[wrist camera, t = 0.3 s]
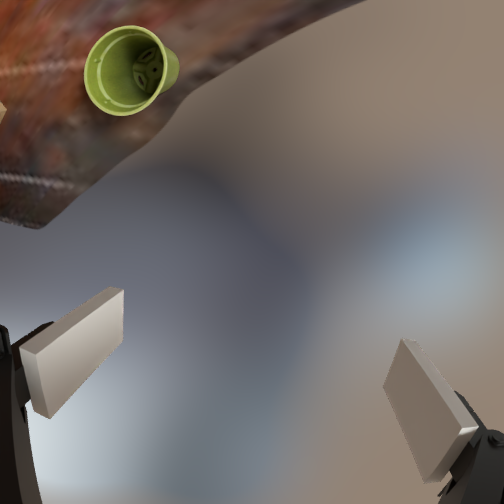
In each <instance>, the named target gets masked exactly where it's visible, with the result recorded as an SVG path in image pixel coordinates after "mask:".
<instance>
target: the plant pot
mask: <svg viewBox="0 0 504 504" xmlns="http://www.w3.org/2000/svg"><path fill="white" fill-rule="evenodd" d="M149 52H151V53H152V54H151V55H149V56H147V57H146V58H145V59H143V57H144V56H145V55H146V54H147V53H149ZM154 68H157V71H156V72H154V71H153V69H154ZM178 73H179V61H178V58H177V56H176V55H175V54H174V53H173V52H172V51H171V50H170V49H168V48H166V47H165V46H163V44H162V42H161V41H160V40H159V38H158V37H157V36H156V35H155V34H153V33H152V32H151V31H149V30H147V29H145V28H142V27H138V26H123V27H119V28H116V29H114V30H111V31H110V32H108V33H106V34H105V35H104V36H103V37H101V38H100V39H99V40H98V41H97V42H96V44H95V45H94V46H93V48H92V49H91V51H90V53H89V55H88V58H87V61H86V64H85V69H84V82H85V87H86V90H87V93H88V95H89V97H90V99H91V100H92V101H93V103H94V104H95V105H96V106H97V107H98V108H100V109H101V110H103V111H104V112H106V113H109V114H112V115H116V116H127V115H131V114H134V113H137V112H139V111H141V110H143V109H145V108H146V107H147V106H148V105H150V104H151V103H152V102H153V101H154V100H155V98H156V97H157V96H158V95H159V94H161V93H163V92H165V91H166V90H168V89H169V88H170V87H171V86H172V85H173V84H174V83H175V82H176V80H177V77H178ZM138 76H140V77H141V79H142V81H143V82H144V85H142V84H141V83H140V81H139V79H138Z"/></svg>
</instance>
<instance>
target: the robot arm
mask: <svg viewBox="0 0 504 504" xmlns="http://www.w3.org/2000/svg"><path fill="white" fill-rule="evenodd" d="M123 293H124V291H123V289H119V288H114V287H108V288H106V289H105V290H103V291H102V292H100V293H98V294H97V295H95V296H94V297H92V298H91V299H89V300H88V301H86V302H85V303H83V304H82V305H80V306H79V307H77V308H76V309H74V310H73V311H71V312H70V313H68V314H67V315H65V316H64V317H62V318H61V319H59V320H58V321H56V322H53V321H52V322H49V323H46V324H42V325H41V326H39V327H38V328H36V329H35V330H34V331H32V332H31V333H29V334H28V335H26V336H24V337H23V338H21V339H20V340H18V341H17V342H15V343H14V344H12V345H11V344H10V339H9V333H8V329H7V328H6V327H5V326H2V325H0V504H42V500H41V496H40V492H39V488H38V484H37V478H36V473H35V468H34V463H33V457H32V451H31V444H30V437H29V428H28V419H27V411H26V407H25V404H26V403H27V402H28V401H29V400H30V399H31V402H32V406H33V410H34V411H35V412H36V413H39V414H40V415H42V416H44V417H46V418H48V419H51V418H52V416H53V415H54V414H55V413H56V412H57V411H58V410H59V409H60V408H61V407H62V406H63V404H64V403H65V402H66V401H67V400H68V399H69V398H70V397H71V396H72V395H73V394H74V392H75V391H76V390H77V389H78V388H79V387H80V386H81V385H82V384H83V383H84V382H85V380H87V378H88V377H89V376H90V375H91V374H92V373H93V372H94V371H95V370H96V369H97V368H98V367H99V365H101V363H102V362H103V361H104V360H105V359H106V358H107V357H108V356H109V355H110V354H111V353H112V352H113V351H114V350H115V349H116V348H117V347H118V345H119V344H120V343H121V342H122V341H123ZM383 388H384V390H385V392H386V395H387V397H388V399H389V401H390V403H391V405H392V408H393V410H394V412H395V414H396V417H397V419H398V421H399V424H400V426H401V428H402V431H403V433H404V435H405V438H406V440H407V442H408V445H409V447H410V450H411V452H412V454H413V457H414V459H415V462H416V464H417V467H418V469H419V472H420V474H421V476H422V479H423V481H424V483H432V482H439V481H441V480H442V479H443V478H444V476H445V475H446V474H447V473H448V471H450V473H451V474H452V478H451V480H450V481H449V482H448V483H447V485H446V486H445V487H444V488H443V490H442V491H441V492H440V493H439V494H438V496H439V497H440V496H441V495H442V497H441V499H440V501H439V503H438V504H504V434H503V433H501V432H500V431H497V430H487V429H486V427H485V426H484V424H483V423H482V421H481V420H480V419H479V418H478V416H477V414H476V413H475V412H473V411H474V410H473V409H472V408H471V407H470V406H469V404H468V402H467V401H466V400H465V398H464V397H463V396H462V395H460V394H459V393H458V392H456V391H453V389H452V388H451V387H450V385H449V384H448V383H447V381H446V380H445V379H444V377H443V376H442V375H441V373H440V372H439V371H438V369H437V368H436V367H435V366H434V364H433V363H432V362H431V360H430V359H429V358H428V356H427V355H426V354H425V353H424V351H423V350H422V349H421V347H420V346H419V345H418V344H417V342H416V341H415V340H410V339H401V341H400V344H399V346H398V349H397V351H396V354H395V357H394V360H393V362H392V365H391V367H390V370H389V373H388V375H387V377H386V380H385V382H384V385H383Z"/></svg>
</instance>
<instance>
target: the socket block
mask: <svg viewBox="0 0 504 504" xmlns="http://www.w3.org/2000/svg"><path fill="white" fill-rule="evenodd" d="M6 110H7V109H6V108H5V107H4V106H3V104H2V103H1V102H0V123H1V121H2V119H3V117H4V115H5V112H6Z"/></svg>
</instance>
